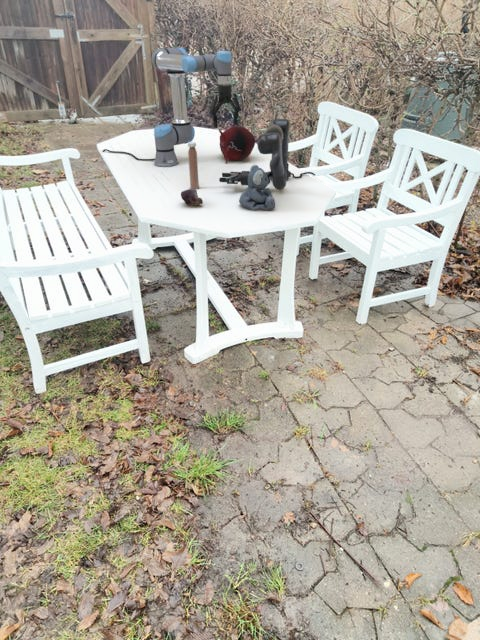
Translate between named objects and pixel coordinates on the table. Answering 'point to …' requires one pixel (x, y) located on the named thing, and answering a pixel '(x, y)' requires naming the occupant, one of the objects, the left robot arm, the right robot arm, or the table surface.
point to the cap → (191, 144)
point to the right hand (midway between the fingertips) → (220, 177)
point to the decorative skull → (236, 143)
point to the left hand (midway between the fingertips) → (225, 126)
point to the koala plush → (257, 191)
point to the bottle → (193, 168)
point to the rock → (191, 197)
